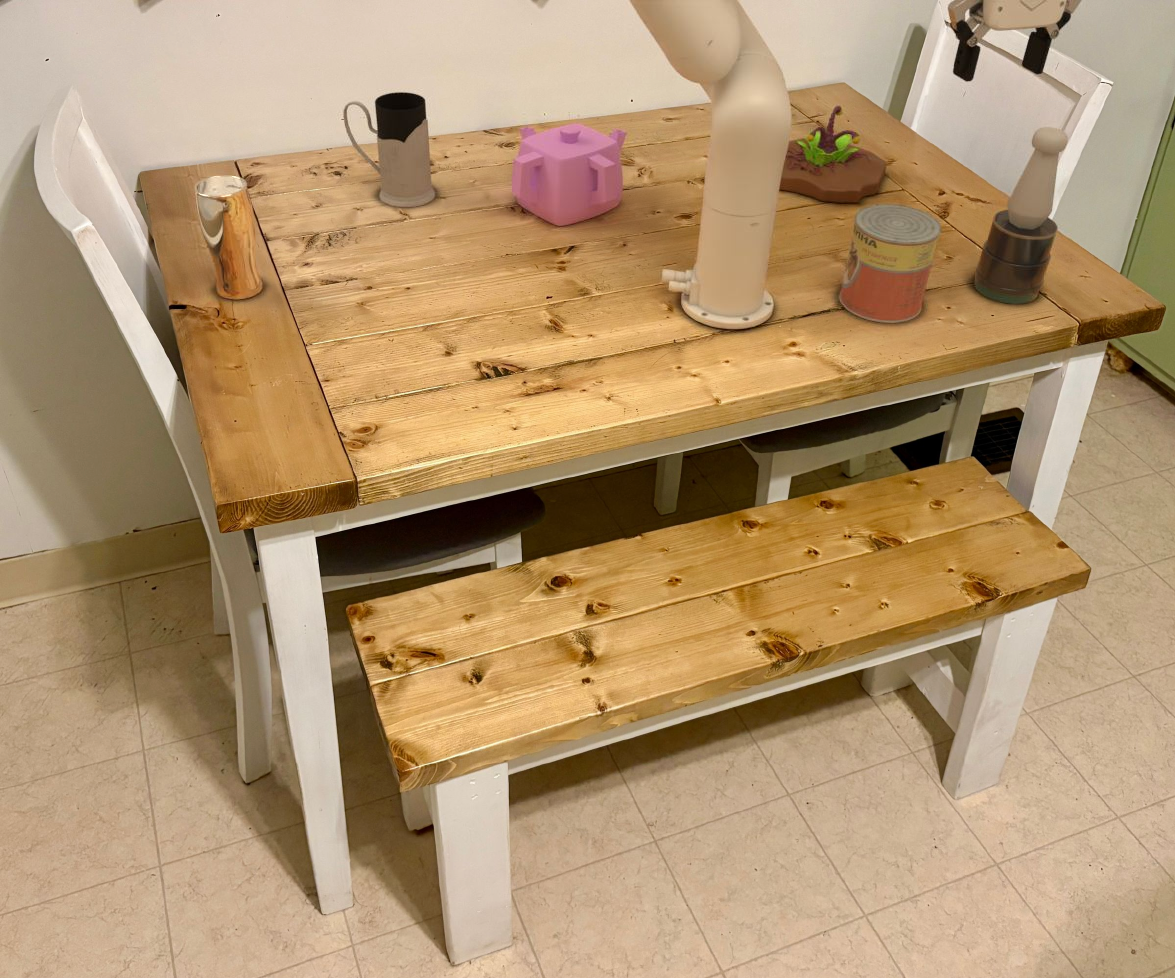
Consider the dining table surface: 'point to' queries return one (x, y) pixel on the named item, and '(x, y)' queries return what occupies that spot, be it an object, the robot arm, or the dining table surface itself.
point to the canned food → (889, 262)
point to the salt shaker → (1037, 180)
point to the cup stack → (1014, 260)
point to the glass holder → (400, 148)
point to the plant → (831, 166)
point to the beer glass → (229, 234)
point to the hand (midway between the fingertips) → (997, 73)
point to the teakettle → (568, 173)
